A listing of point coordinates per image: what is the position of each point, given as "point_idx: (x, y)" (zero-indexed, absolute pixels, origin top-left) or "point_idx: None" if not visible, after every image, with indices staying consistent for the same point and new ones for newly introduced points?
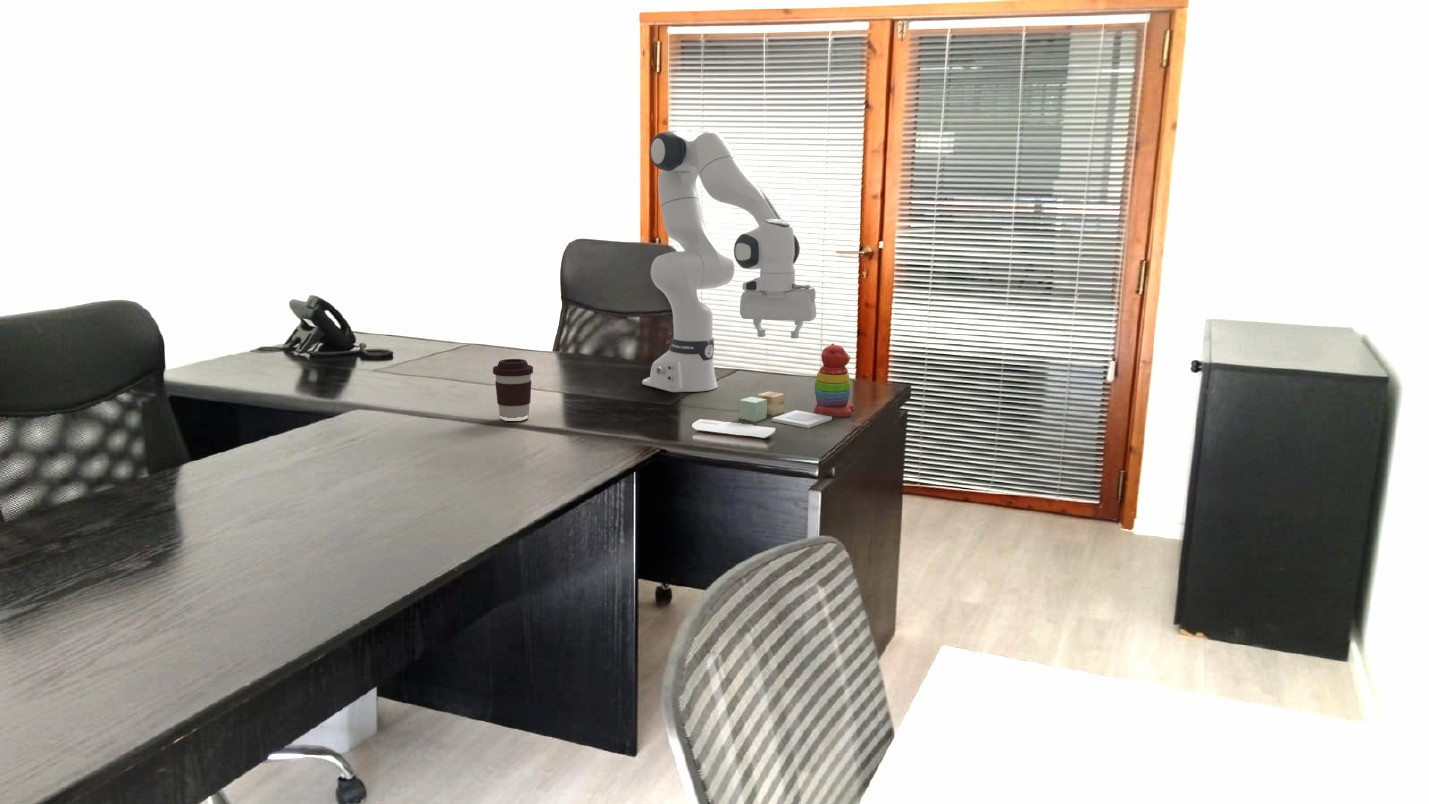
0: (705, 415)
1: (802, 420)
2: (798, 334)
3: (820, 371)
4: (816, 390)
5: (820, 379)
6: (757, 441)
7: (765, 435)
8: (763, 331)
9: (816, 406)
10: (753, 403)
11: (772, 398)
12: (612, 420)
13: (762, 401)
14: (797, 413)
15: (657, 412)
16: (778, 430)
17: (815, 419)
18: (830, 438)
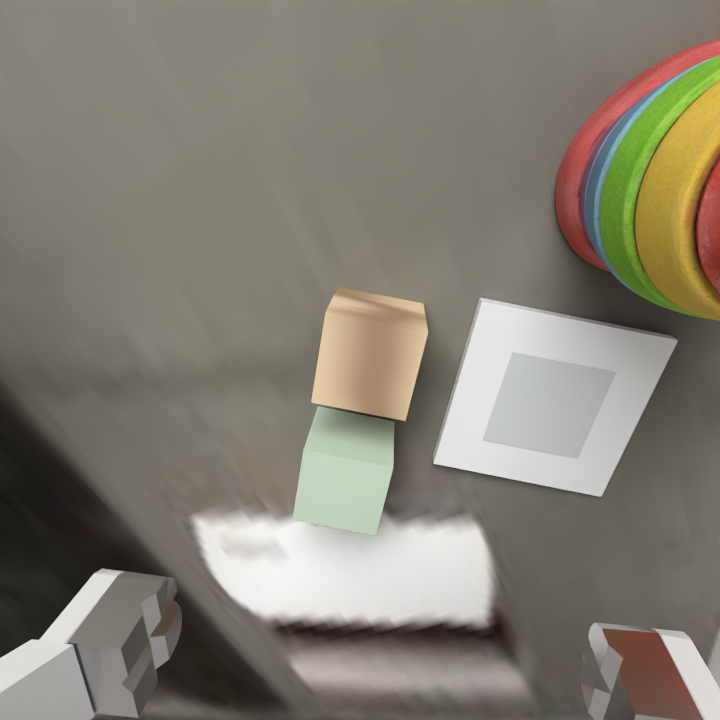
0: (179, 475)
1: (563, 454)
2: (705, 676)
3: (710, 282)
4: (618, 278)
5: (687, 310)
6: (480, 655)
7: (479, 603)
8: (144, 675)
9: (578, 237)
10: (365, 530)
11: (398, 416)
12: (4, 616)
13: (386, 493)
14: (509, 361)
15: (25, 501)
16: (499, 546)
17: (611, 415)
18: (701, 567)
